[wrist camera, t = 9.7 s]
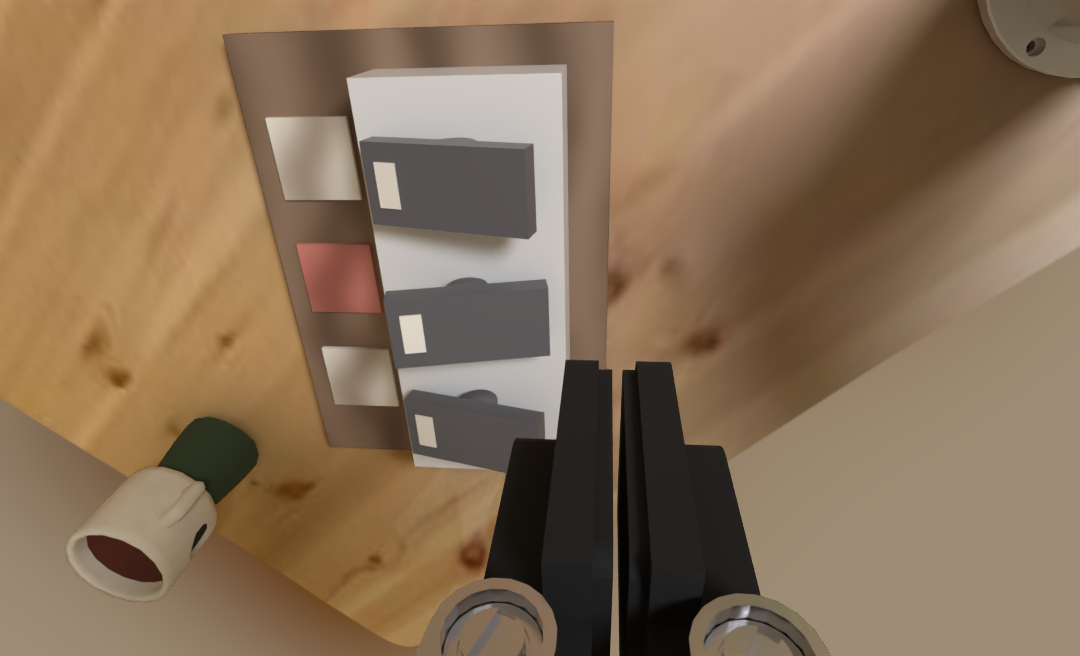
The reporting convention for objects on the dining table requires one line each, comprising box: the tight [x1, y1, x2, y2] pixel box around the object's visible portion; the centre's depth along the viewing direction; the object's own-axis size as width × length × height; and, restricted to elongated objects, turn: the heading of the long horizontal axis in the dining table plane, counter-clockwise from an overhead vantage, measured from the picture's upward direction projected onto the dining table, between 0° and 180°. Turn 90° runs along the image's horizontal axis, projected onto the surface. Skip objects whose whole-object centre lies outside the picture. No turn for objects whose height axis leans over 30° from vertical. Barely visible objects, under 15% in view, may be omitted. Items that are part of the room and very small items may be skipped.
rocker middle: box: [383, 277, 550, 369], centre depth 35 cm, size 9×4×3 cm, turn 92°
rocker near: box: [359, 136, 537, 239], centre depth 31 cm, size 9×4×3 cm, turn 92°
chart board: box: [223, 21, 614, 450], centre depth 41 cm, size 22×30×2 cm
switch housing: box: [346, 64, 570, 470], centre depth 38 cm, size 11×26×4 cm, turn 2°
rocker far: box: [404, 389, 545, 473], centre depth 39 cm, size 9×4×3 cm, turn 91°
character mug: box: [65, 417, 258, 602], centre depth 46 cm, size 11×7×13 cm, turn 130°
